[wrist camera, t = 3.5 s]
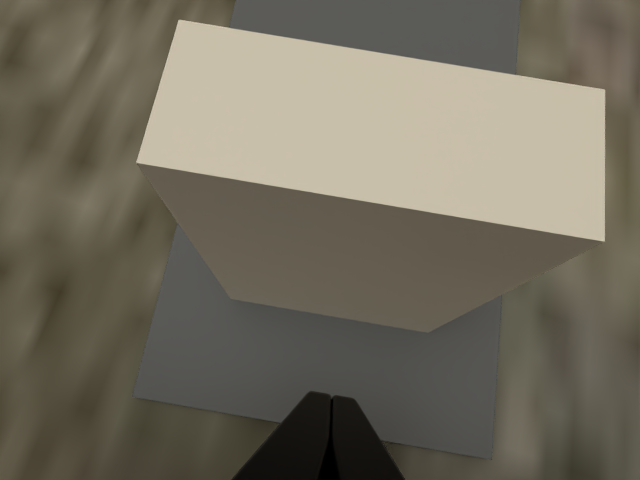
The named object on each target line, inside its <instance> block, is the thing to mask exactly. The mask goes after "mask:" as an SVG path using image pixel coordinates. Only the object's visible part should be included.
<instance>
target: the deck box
mask: <svg viewBox="0 0 640 480" xmlns="http://www.w3.org/2000/svg"><path fill="white" fill-rule="evenodd" d="M136 163H137V165H138V166H139V167H140V169H141V170H142V172H143V173H144V175H145V176H146V178H147V179H148V180H149V182H150V183H151V185H152V186H153V188H154V189H155V190H156V192H157V193H158V195H159V196H160V198H161V199H162V201H163V202H164V203H165V205H166V206H167V208H168V209H169V211H170V212H171V214H172V215H173V216H174V218H175V219H176V221H177V222H178V224H179V225H180V227H181V228H182V229H183V231H184V232H185V234H186V235H187V237H188V238H189V239H190V241H191V242H192V244H193V245H194V247H195V248H196V250H197V251H198V252H199V254H200V255H201V257H202V258H203V260H204V261H205V263H206V264H207V265H208V267H209V268H210V270H211V271H212V273H213V274H214V276H215V277H216V278H217V280H218V281H219V283H220V284H221V286H222V287H223V288H224V290H225V291H226V293H227V294H228V296H229V297H230V299H234V300H240V301H245V302H251V303H257V304H263V305H269V306H275V307H280V308H286V309H292V310H298V311H304V312H310V313H315V314H321V315H327V316H333V317H339V318H345V319H350V320H356V321H362V322H368V323H374V324H380V325H385V326H391V327H397V328H403V329H409V330H415V331H420V332H426V333H429V332H431V331H433V330H434V329H436V328H438V327H440V326H442V325H444V324H446V323H448V322H450V321H452V320H454V319H456V318H458V317H460V316H462V315H464V314H465V313H467V312H469V311H471V310H473V309H475V308H477V307H479V306H481V305H483V304H485V303H487V302H489V301H491V300H493V299H495V298H496V297H498V296H500V295H502V294H504V293H506V292H508V291H510V290H512V289H514V288H516V287H518V286H520V285H522V284H524V283H526V282H527V281H529V280H531V279H533V278H535V277H537V276H539V275H541V274H543V273H545V272H547V271H549V270H551V269H553V268H555V267H557V266H558V265H560V264H562V263H564V262H566V261H568V260H570V259H572V258H574V257H576V256H578V255H580V254H582V253H584V252H586V251H588V250H589V249H591V248H593V247H595V246H597V245H599V244H601V243H603V242H605V90H603V89H597V88H591V87H585V86H579V85H573V84H567V83H561V82H555V81H549V80H543V79H537V78H530V77H524V76H518V75H512V74H506V73H500V72H494V71H488V70H482V69H476V68H470V67H464V66H457V65H451V64H445V63H439V62H433V61H427V60H421V59H415V58H409V57H403V56H397V55H391V54H384V53H378V52H372V51H366V50H360V49H354V48H348V47H342V46H336V45H330V44H324V43H318V42H311V41H305V40H299V39H293V38H287V37H281V36H275V35H269V34H263V33H257V32H251V31H245V30H238V29H232V28H226V27H220V26H214V25H208V24H202V23H196V22H190V21H184V20H179V21H178V25H177V28H176V31H175V35H174V38H173V41H172V45H171V48H170V51H169V55H168V58H167V61H166V65H165V68H164V71H163V75H162V78H161V82H160V85H159V88H158V92H157V95H156V98H155V102H154V105H153V108H152V112H151V115H150V118H149V122H148V125H147V128H146V132H145V135H144V139H143V142H142V145H141V149H140V152H139V155H138V159H137V162H136Z"/></svg>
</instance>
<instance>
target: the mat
mask: <svg viewBox="0 0 640 480" xmlns="http://www.w3.org/2000/svg"><path fill="white" fill-rule="evenodd" d="M519 15H520V0H236V2H235V6H234V10H233V14H232V18H231V21H230V25H229V28H232V29H238V30H245V31H251V32H257V33H263V34H269V35H275V36H281V37H287V38H293V39H299V40H305V41H311V42H318V43H324V44H330V45H336V46H342V47H348V48H354V49H360V50H366V51H372V52H378V53H384V54H391V55H397V56H403V57H409V58H415V59H421V60H427V61H433V62H439V63H445V64H451V65H457V66H464V67H470V68H476V69H482V70H488V71H494V72H500V73H506V74H512V75H516V63H517V47H518V31H519ZM501 304H502V295H500V296H498V297H496V298H495V299H493V300H491V301H489V302H487V303H485V304H483V305H481V306H479V307H477V308H475V309H473V310H471V311H469V312H467V313H465V314H464V315H462V316H460V317H458V318H456V319H454V320H452V321H450V322H448V323H446V324H444V325H442V326H440V327H438V328H436V329H434V330H433V331H431V332H429V333H426V332H420V331H415V330H409V329H403V328H397V327H391V326H385V325H380V324H374V323H368V322H362V321H356V320H350V319H345V318H339V317H333V316H327V315H321V314H315V313H310V312H304V311H298V310H292V309H286V308H280V307H275V306H269V305H263V304H257V303H251V302H245V301H240V300H234V299H230V297H229V296H228V294H227V293H226V291H225V290H224V288H223V287H222V286H221V284H220V283H219V281H218V280H217V278H216V277H215V276H214V274H213V273H212V271H211V270H210V268H209V267H208V265H207V264H206V263H205V261H204V260H203V258H202V257H201V255H200V254H199V252H198V251H197V250H196V248H195V247H194V245H193V244H192V242H191V241H190V239H189V238H188V237H187V235H186V234H185V232H184V231H183V229H182V228H181V227H180V225H179V224H178V223H177V227H176V231H175V235H174V239H173V243H172V246H171V250H170V254H169V258H168V262H167V265H166V269H165V273H164V277H163V281H162V285H161V288H160V292H159V296H158V300H157V304H156V307H155V311H154V315H153V319H152V323H151V326H150V330H149V334H148V338H147V342H146V346H145V349H144V353H143V357H142V361H141V365H140V368H139V372H138V376H137V380H136V384H135V387H134V391H133V395H132V397H135V398H141V399H147V400H152V401H158V402H164V403H170V404H175V405H181V406H187V407H193V408H198V409H204V410H210V411H215V412H221V413H227V414H233V415H238V416H244V417H250V418H256V419H261V420H267V421H273V422H278V423H281V422H282V421H283V420H284V419H285V418H286V417H287V415H288V414H289V413H290V412H291V411H292V410H293V408H294V407H295V406H296V405H297V404H298V403H299V402H300V400H301V399H302V398H303V397H304V396H305V395H306V394H307V393H308V392H309V391H316V392H322V393H328V394H330V395H331V399H332V397H333V396H334V395H339V396H345V397H351V398H354V399H355V400H356V401H357V402H358V404H359V406H360V407H361V409H362V410H363V412H364V414H365V415H366V417H367V419H368V420H369V422H370V423H371V425H372V427H373V428H374V430H375V431H376V433H377V435H378V436H379V438H380V440H382V441H387V442H393V443H399V444H405V445H410V446H416V447H422V448H427V449H433V450H439V451H445V452H450V453H456V454H462V455H468V456H473V457H479V458H485V459H491V460H492V449H493V433H494V417H495V401H496V385H497V369H498V353H499V337H500V320H501Z"/></svg>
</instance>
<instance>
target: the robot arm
mask: <svg viewBox="0 0 640 480" xmlns="http://www.w3.org/2000/svg"><path fill="white" fill-rule="evenodd" d="M231 480H405V478H404V477H403V475H402V474H401V472H400V470H399V469H398V467H397V465H396V464H395V462H394V461H393V459H392V457H391V456H390V454H389V453H388V451H387V449H386V448H385V446H384V444H383V443H382V441H381V440H380V438H379V436H378V435H377V433H376V431H375V430H374V428H373V427H372V425H371V423H370V422H369V420H368V419H367V417H366V415H365V414H364V412H363V410H362V409H361V407H360V406H359V404H358V402H357V401H356V400H355V399H354V398H351V397H345V396H339V395H334V396H333V397H332V399H331V395H330V394H328V393H322V392H316V391H309V392H308V393H307V394H306V395H305V396H304V397H303V398H302V399H301V400H300V402H299V403H298V404H297V405H296V406H295V407H294V408H293V410H292V411H291V412H290V413H289V414H288V415H287V417H286V418H285V419H284V420H283V421H282V422H281V423H280V425H279V426H278V427H277V428H276V429H275V430H274V431H273V433H272V434H271V435H270V436H269V437H268V438H267V439H266V441H265V442H264V443H263V444H262V445H261V446H260V447H259V449H258V450H257V451H256V452H255V453H254V454H253V455H252V457H251V458H250V459H249V460H248V461H247V462H246V463H245V465H244V466H243V467H242V468H241V469H240V470H239V471H238V473H237V474H236V475H235V476H234V477H233V478H232V479H231Z"/></svg>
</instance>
